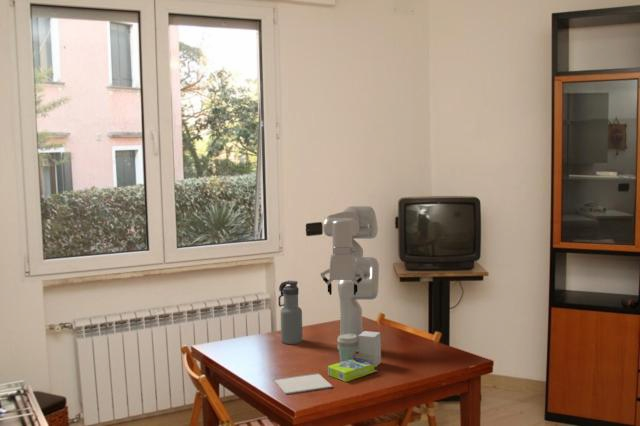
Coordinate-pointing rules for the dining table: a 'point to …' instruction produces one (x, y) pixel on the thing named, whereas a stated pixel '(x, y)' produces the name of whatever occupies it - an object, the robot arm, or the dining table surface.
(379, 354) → the supplement box
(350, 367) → the box
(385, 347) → the dining table surface
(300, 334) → the water bottle
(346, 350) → the coffee cup
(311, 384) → the mat
